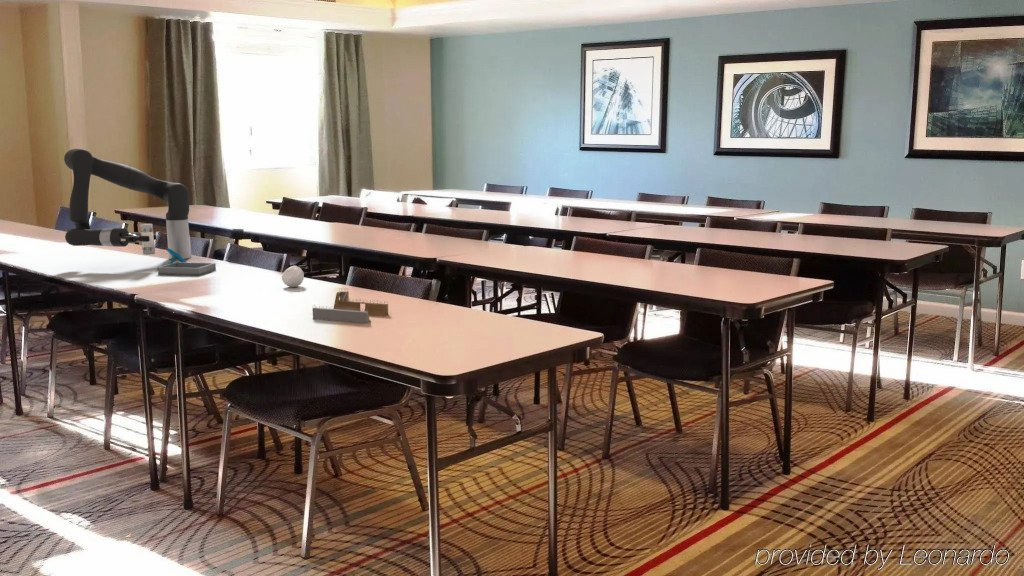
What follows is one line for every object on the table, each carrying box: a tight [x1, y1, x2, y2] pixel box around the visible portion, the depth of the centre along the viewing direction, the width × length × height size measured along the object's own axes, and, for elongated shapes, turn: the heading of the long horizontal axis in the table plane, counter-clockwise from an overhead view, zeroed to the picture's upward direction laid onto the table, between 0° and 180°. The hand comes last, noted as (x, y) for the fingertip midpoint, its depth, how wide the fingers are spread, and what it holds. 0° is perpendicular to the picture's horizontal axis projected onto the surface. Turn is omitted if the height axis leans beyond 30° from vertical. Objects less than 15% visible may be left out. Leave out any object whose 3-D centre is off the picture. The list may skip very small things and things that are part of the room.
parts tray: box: [157, 261, 217, 277], centre depth 378 cm, size 14×18×3 cm
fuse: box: [139, 223, 156, 256], centre depth 381 cm, size 5×5×12 cm
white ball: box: [281, 265, 305, 288], centre depth 344 cm, size 8×8×8 cm
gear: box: [166, 247, 187, 265], centre depth 396 cm, size 11×6×10 cm
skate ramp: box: [312, 287, 389, 325], centre depth 297 cm, size 29×35×8 cm
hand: (152, 237), depth 381 cm, fingers closed on fuse, 4 cm apart
